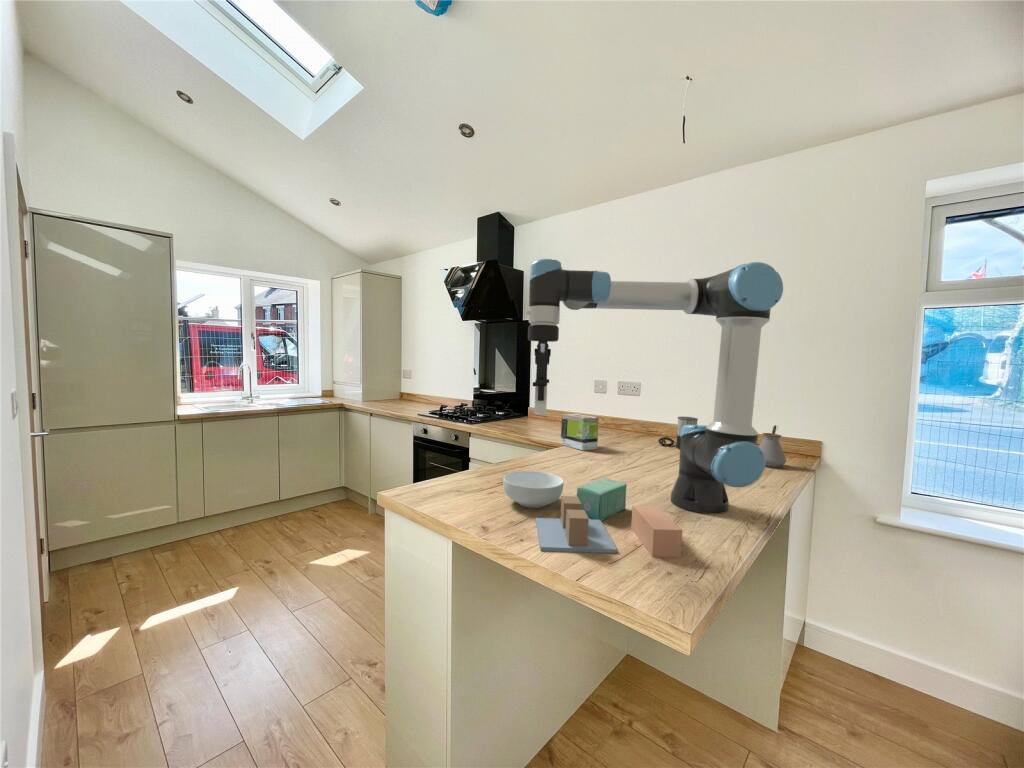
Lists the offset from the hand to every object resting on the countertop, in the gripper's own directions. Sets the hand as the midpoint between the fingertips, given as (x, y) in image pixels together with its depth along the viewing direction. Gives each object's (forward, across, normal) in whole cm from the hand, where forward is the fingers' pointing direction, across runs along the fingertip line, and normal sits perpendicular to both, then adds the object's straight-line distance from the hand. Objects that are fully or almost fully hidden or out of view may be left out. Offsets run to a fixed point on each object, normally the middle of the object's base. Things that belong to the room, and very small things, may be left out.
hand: (540, 411), depth 104 cm
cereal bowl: (+27, -11, -1) cm, 30 cm away
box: (+28, -8, +17) cm, 33 cm away
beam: (+28, +10, +26) cm, 39 cm away
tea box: (+28, -91, +18) cm, 97 cm away
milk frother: (+28, -102, +66) cm, 125 cm away
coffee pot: (+28, -77, +96) cm, 127 cm away
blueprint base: (+27, +9, +8) cm, 30 cm away
